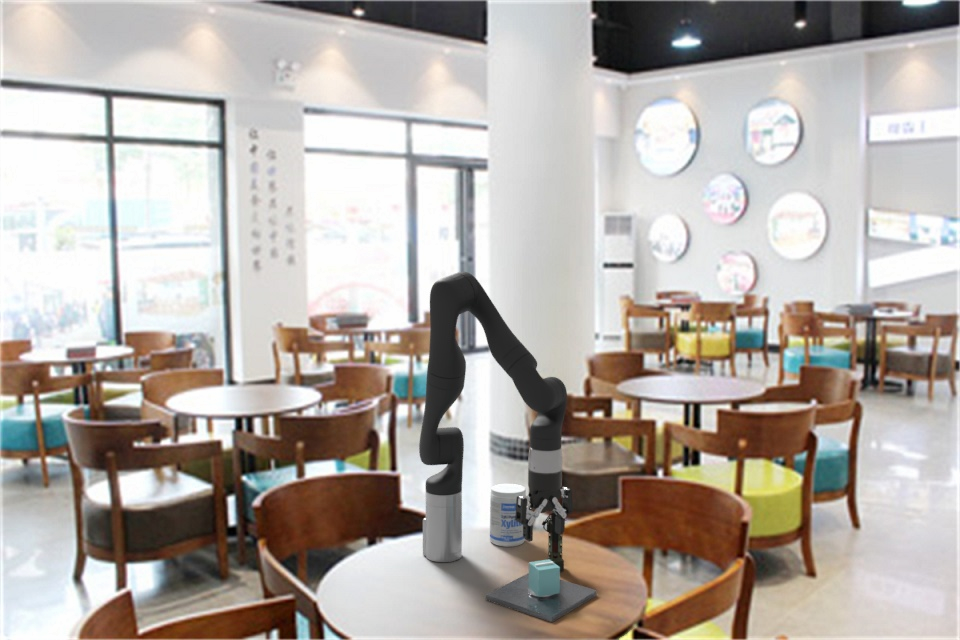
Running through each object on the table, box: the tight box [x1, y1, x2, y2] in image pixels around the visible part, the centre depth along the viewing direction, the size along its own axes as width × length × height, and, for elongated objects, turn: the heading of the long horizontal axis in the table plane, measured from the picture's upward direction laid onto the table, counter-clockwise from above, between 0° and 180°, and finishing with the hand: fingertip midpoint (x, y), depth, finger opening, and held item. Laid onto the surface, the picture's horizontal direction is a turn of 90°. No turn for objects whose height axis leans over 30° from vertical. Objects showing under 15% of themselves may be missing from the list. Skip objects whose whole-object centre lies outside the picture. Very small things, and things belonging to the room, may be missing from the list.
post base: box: [485, 572, 598, 623], centre depth 196 cm, size 18×18×6 cm
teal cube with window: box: [528, 558, 561, 597], centre depth 196 cm, size 5×5×6 cm
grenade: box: [541, 511, 567, 573], centre depth 212 cm, size 6×6×15 cm
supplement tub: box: [489, 483, 527, 548], centre depth 232 cm, size 10×10×15 cm
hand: (544, 536), depth 196 cm, fingers open, 8 cm apart
